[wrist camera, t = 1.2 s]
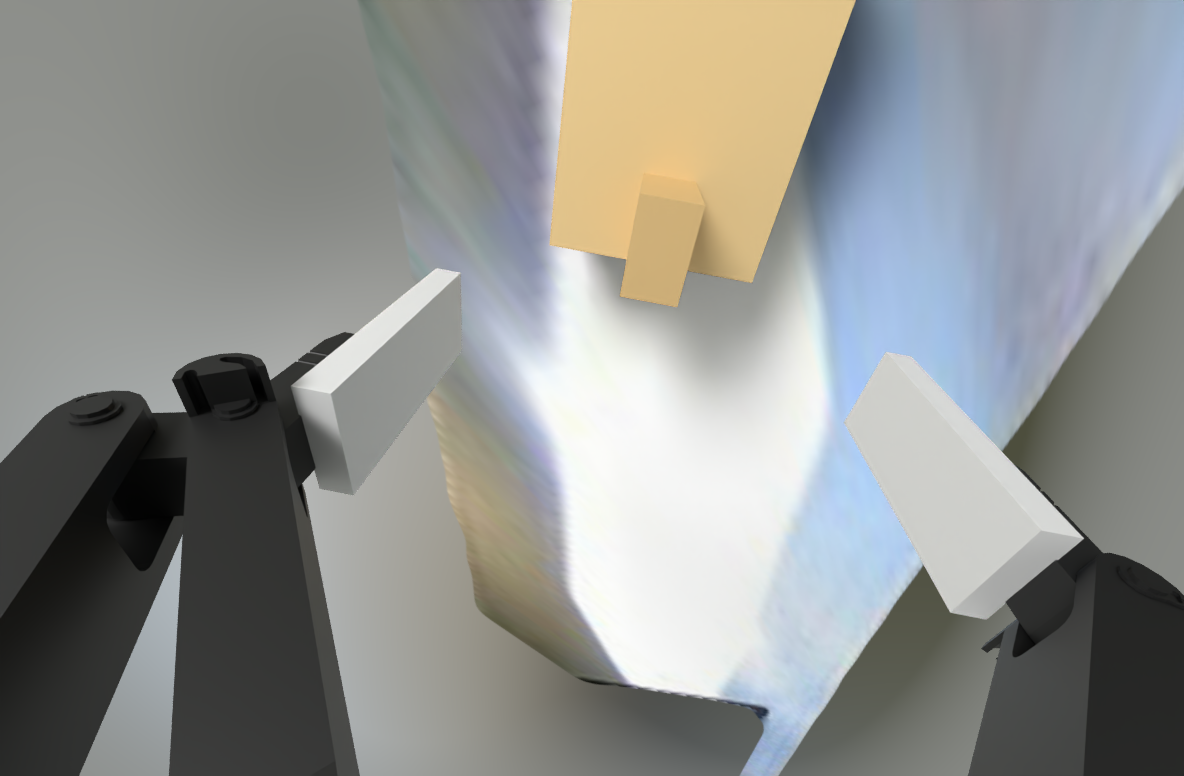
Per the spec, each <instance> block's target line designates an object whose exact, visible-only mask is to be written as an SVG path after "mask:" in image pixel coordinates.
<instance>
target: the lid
mask: <svg viewBox="0 0 1184 776" xmlns="http://www.w3.org/2000/svg"><path fill="white" fill-rule="evenodd" d="M855 1H856V0H572V9H571V20H570V31H569V42H568V52H567V63H566V74H565V84H564V95H563V106H562V116H561V127H560V138H559V149H558V159H557V170H556V181H555V191H554V202H553V213H552V223H551V234H550V245H552V246H557V247H562V248H568V249H573V250H578V251H584V252H589V253H594V254H600V255H605V256H610V257H616V258H621V259H626V265H625V270H624V276H623V281H622V286H621V292H620V297H625V298H630V299H636V300H641V301H646V302H651V303H657V304H662V305H667V306H673V307H677V306H678V303H679V299H680V296H681V292H682V288H683V285H684V281H685V278H686V274H687V271H690V272H696V273H701V274H706V275H712V276H717V277H722V278H728V279H733V280H738V281H744V282H749V283H752V281H753V279H754V276H755V273H756V270H757V268H758V265H759V262H760V260H761V257H762V254H763V251H764V249H765V246H766V243H767V240H768V238H769V235H770V232H771V230H772V227H773V224H774V221H775V219H776V216H777V213H778V211H779V208H780V205H781V202H782V200H783V197H784V194H785V191H786V189H787V186H788V183H789V181H790V178H791V175H792V172H793V170H794V167H795V164H796V162H797V159H798V156H799V153H800V151H801V148H802V145H803V142H804V140H805V137H806V134H807V132H808V129H809V126H810V123H811V121H812V118H813V115H814V112H815V110H816V107H817V104H818V102H819V99H820V96H821V93H822V91H823V88H824V85H825V83H826V80H827V77H828V74H829V72H830V69H831V66H832V63H833V61H834V58H835V55H836V53H837V50H838V47H839V44H840V42H841V39H842V36H843V34H844V31H845V28H846V25H847V23H848V20H849V17H850V14H851V12H852V9H853V6H854V4H855Z"/></svg>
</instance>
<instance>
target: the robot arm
mask: <svg viewBox="0 0 1184 776" xmlns="http://www.w3.org/2000/svg"><path fill="white" fill-rule="evenodd" d="M461 351H462V313H461V273H459V272H453V271H448V270H443V269H437V268H436V269H435V270H434V271H432V272H431V273H430V274H429V275H427V276H426V277H425V278H424V279H423V280H421V281H420V282H419V283H418V284H416V285H415V286H414V287H413V288H411V289H410V290H409V291H408V292H406V293H405V294H404V295H403V296H402V297H400V298H399V299H398V300H397V301H395V302H394V303H393V304H392V305H390V306H389V307H388V308H387V309H385V310H384V311H383V312H382V313H380V314H379V315H378V316H377V317H375V319H373V320H372V321H371V322H370V323H368V324H367V325H366V326H364V327H363V328H362V329H361V330H360V331H358V332H357V333H356V334H352V333H346V332H344V333H341V334H339V335H336V336H334V337H331V338H328V339H326V340H324V341H322V342H321V343H320V344H318V345H317V346H316V347H314V348H313V349H312V350H311V351H310V353H306V354H305V355H304V356H302V357H301V358H300V359H299V361H298V362H295V363H293V364H292V365H291V366H289V367H288V368H286V369H285V370H284V371H282V372H281V373H280V374H278V375H277V376H276V377H274V378H273V379H272V380H270V379H269V375H268V373H267V369H266V366H265V364H264V363H263V361H262V360H261V359H260V358H257V357H255V356H253V355H249V354H241V353H231V354H218V355H214V356H209V357H205V358H201V359H199V360H196V361H194V362H191V363H189V364H187V365H185V366H184V367H183V368H181V369H180V370H178V371H177V372H176V374H175V375H174V377H173V379H172V381H173V383H174V385H175V387H176V389H177V392H178V394H179V396H180V398H181V400H182V402H183V405H184V407H185V409H186V411H187V412H181V413H180V412H179V413H152V412H151V410H150V409H149V406H148V405H147V403H146V401H145V400H144V398H143V397H142V396H141V395H140V394H136V393H133V392H130V391H109V392H101V393H93V394H87V396H81V397H78V398H75V399H73V400H71V401H69V402H67V403H64V404H62V405H60V406H58V407H56V408H55V409H53V410H52V411H51V412H49V413H48V414H47V415H45V416H44V417H43V418H42V419H41V420H40V421H39V423H38V424H37V425H36V426H35V427H34V428H33V429H32V430H31V431H30V432H29V433H28V434H27V435H26V436H25V438H24V439H23V440H22V441H21V442H20V443H19V444H18V445H17V446H16V447H15V448H14V449H13V450H12V451H11V453H10V454H9V455H8V456H7V457H6V458H5V459H4V460H3V461H2V462H1V463H0V776H79V774H80V772H81V770H82V767H83V765H84V763H85V760H86V758H87V756H88V753H89V751H90V749H91V746H92V744H93V742H94V740H95V737H96V735H97V733H98V730H99V728H100V725H101V723H102V721H103V719H104V716H105V714H106V712H107V709H108V707H109V705H110V702H111V700H112V698H113V695H114V693H115V690H116V688H117V686H118V684H119V681H120V679H121V676H122V674H123V672H124V669H125V667H126V665H127V662H128V660H129V658H130V656H131V653H132V651H133V649H134V646H135V644H136V642H137V639H138V637H139V635H140V632H141V630H142V627H143V625H144V623H145V620H146V618H147V616H148V614H149V611H150V609H151V606H152V604H153V601H154V600H155V597H156V595H157V592H158V590H159V588H160V585H161V583H162V581H163V579H164V576H165V574H166V572H167V569H168V567H169V565H170V562H171V560H172V558H173V555H174V553H175V551H176V548H177V546H178V544H179V541H180V539H181V537H182V534H183V540H182V557H181V574H180V592H179V609H178V627H177V644H176V662H175V679H174V696H173V714H172V733H171V750H170V768H169V776H360V775H359V769H358V764H357V759H356V754H355V749H354V743H353V738H352V733H351V729H350V723H349V718H348V713H347V707H346V702H345V697H344V692H343V686H342V681H341V676H340V671H339V666H338V660H337V656H336V650H335V645H334V640H333V634H332V629H331V625H330V619H329V614H328V609H327V603H326V598H325V593H324V588H323V583H322V578H321V572H320V567H319V562H318V557H317V551H316V546H315V541H314V536H313V531H312V525H311V520H310V515H309V510H308V505H307V500H306V494H305V490H304V487H303V484H302V483H303V482H304V481H305V479H306V478H307V477H308V476H309V475H310V474H311V473H312V472H313V471H314V470H315V473H316V477H317V480H318V484H319V488H320V489H324V490H330V491H335V492H340V493H345V494H350V495H354V494H355V493H356V491H357V490H358V489H359V487H360V486H361V485H362V483H363V482H364V481H365V479H366V478H367V477H368V475H369V474H370V473H371V471H372V470H373V469H374V467H375V466H376V465H377V463H378V462H379V461H380V459H381V458H382V457H383V455H384V454H385V453H386V451H387V450H388V449H389V447H390V446H391V445H392V443H393V442H394V441H395V439H396V438H397V437H398V435H399V434H400V433H401V431H402V430H403V429H404V427H405V426H406V425H407V423H408V422H409V421H410V419H411V418H412V417H413V415H414V414H415V413H416V411H417V410H418V409H419V407H420V406H421V405H422V403H423V402H424V400H425V399H426V398H427V397H428V395H429V394H430V393H431V391H432V390H433V389H434V387H435V386H436V385H437V383H438V382H439V381H440V379H441V378H442V377H443V375H444V374H445V373H446V371H447V370H448V369H449V367H450V366H451V365H452V363H453V362H454V361H455V359H456V358H457V357H458V355H459V354H460V353H461ZM844 423H845V425H846V427H847V429H848V431H849V432H850V434H851V436H852V438H853V440H854V441H855V443H856V445H857V447H858V448H859V450H860V452H861V454H862V456H863V457H864V459H865V461H866V463H867V465H868V466H869V468H870V470H871V472H872V473H873V475H874V477H875V479H876V481H877V482H878V484H879V486H880V488H881V489H882V491H883V493H884V495H885V497H886V498H887V500H888V502H889V504H890V506H891V507H892V509H893V511H894V513H895V514H896V516H897V518H898V520H899V522H900V523H901V525H902V527H903V529H904V531H905V532H906V534H907V536H908V538H909V539H910V541H911V543H912V545H913V547H914V548H915V550H916V552H917V554H918V556H919V557H920V559H921V561H922V563H923V564H924V566H925V568H926V570H927V571H928V573H929V575H930V577H931V579H932V581H933V582H934V584H935V586H936V588H937V589H938V591H939V593H940V595H941V596H942V598H943V600H944V602H945V604H946V605H947V607H948V609H949V611H950V612H951V613H955V614H961V615H966V616H971V617H976V618H981V619H988V618H989V617H990V616H991V615H992V614H994V613H995V612H996V611H997V610H998V609H1000V608H1001V607H1002V606H1003V605H1004V604H1006V603H1007V605H1008V606H1009V608H1010V609H1011V611H1012V612H1013V614H1014V615H1015V617H1016V618H1017V619H1016V620H1015V621H1014V622H1013V623H1011V624H1010V625H1008V626H1007V627H1006V628H1005V629H1003V630H1002V631H1001V632H999V633H998V634H997V635H996V636H994V637H993V638H992V639H991V640H989V641H988V642H987V643H986V644H985V645H984V646H983V647H982V649H983V650H984V651H985V652H989V651H990V650H992V649H993V648H1000V651H999V655H998V657H997V658H996V659H997V663H996V667H995V671H994V675H993V678H992V682H991V686H990V691H989V695H988V699H987V702H986V706H985V710H984V714H983V718H982V722H981V726H980V730H979V734H978V738H977V742H976V746H975V750H974V754H973V758H972V762H971V766H970V770H969V774H968V776H1184V595H1183V594H1182V593H1181V592H1180V591H1179V590H1178V589H1177V588H1176V587H1174V586H1173V585H1172V584H1171V583H1169V582H1168V581H1167V580H1165V579H1164V578H1163V577H1162V576H1160V575H1159V574H1157V573H1155V572H1154V571H1152V570H1150V569H1149V568H1147V567H1145V566H1144V565H1142V564H1140V563H1137V562H1135V561H1133V560H1131V559H1129V558H1126V557H1124V556H1120V555H1116V554H1112V553H1102V552H1101V551H1100V550H1099V548H1098V547H1097V546H1095V544H1094V543H1093V542H1092V541H1091V540H1090V539H1089V538H1088V537H1087V536H1086V535H1085V534H1084V533H1083V532H1082V531H1081V530H1080V529H1079V528H1078V527H1077V526H1076V525H1075V524H1074V522H1073V521H1072V520H1071V519H1070V518H1069V517H1068V516H1067V515H1066V514H1065V513H1064V512H1063V511H1062V510H1061V509H1060V508H1059V507H1058V506H1055V505H1054V502H1053V501H1052V500H1051V499H1050V498H1049V497H1048V495H1047V494H1046V493H1045V492H1042V491H1040V489H1041V488H1040V487H1039V486H1038V485H1037V484H1036V483H1035V482H1034V481H1033V480H1032V479H1031V478H1030V477H1029V476H1028V475H1027V474H1026V473H1025V472H1024V471H1023V470H1022V469H1020V468H1019V467H1018V466H1016V465H1015V464H1013V463H1012V462H1011V461H1010V460H1009V459H1008V458H1007V457H1006V456H1005V455H1004V454H1003V453H1002V452H1001V451H1000V450H999V448H998V447H997V446H996V445H995V444H994V443H993V442H992V441H991V440H990V439H989V438H988V437H987V436H986V435H985V434H984V433H983V432H982V431H981V430H980V429H979V427H978V426H977V425H976V424H975V423H974V422H973V421H972V420H971V419H970V418H969V417H968V416H967V415H966V414H965V413H964V412H963V411H962V410H961V409H960V407H959V406H958V405H957V404H956V403H955V402H954V401H953V400H952V399H951V398H950V397H949V396H948V395H947V394H946V393H945V392H944V391H943V390H942V389H941V387H940V386H939V385H938V384H937V383H936V382H935V381H934V380H933V379H932V378H931V377H930V376H929V375H928V374H927V373H926V372H925V371H924V370H923V369H922V367H921V366H920V365H919V364H918V363H917V362H916V361H915V360H914V359H913V358H912V357H910V356H905V355H900V354H894V353H889V352H886V353H885V354H884V356H883V358H882V359H881V361H880V363H879V364H878V366H877V368H876V369H875V371H874V373H873V374H872V376H871V378H870V380H869V381H868V383H867V385H866V386H865V388H864V390H863V391H862V393H861V395H860V396H859V398H858V400H857V401H856V403H855V405H854V406H853V408H852V410H851V412H850V413H849V415H848V417H847V418H846V420H845V422H844Z"/></svg>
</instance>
